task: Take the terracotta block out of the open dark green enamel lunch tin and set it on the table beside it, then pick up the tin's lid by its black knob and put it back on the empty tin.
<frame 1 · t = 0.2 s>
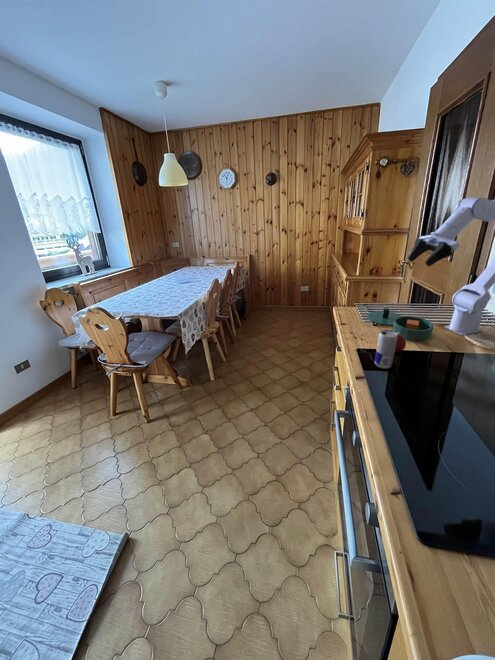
hand: (417, 262, 94), 31 cm above the counter, tool tilted 45°, fingers open, 7 cm apart
onion: (394, 352, 102), on the counter
tin: (410, 334, 113), on the counter
energy drink: (382, 365, 96), on the counter
tin lid: (385, 318, 125), point 1 cm above the counter
block: (411, 330, 114), resting on tin
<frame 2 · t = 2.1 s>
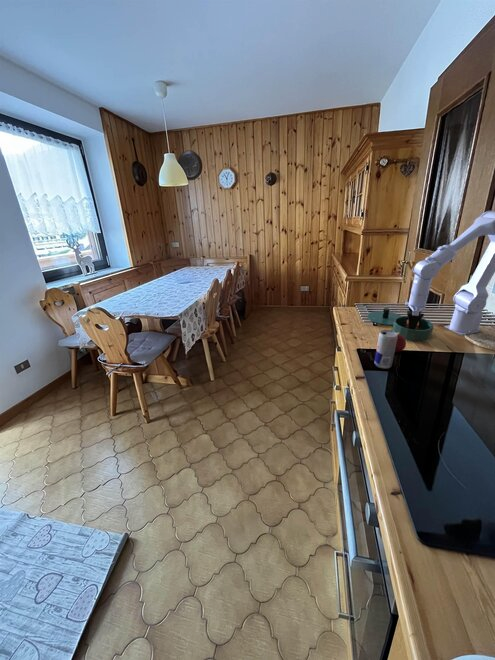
hand: (411, 325, 113), 3 cm above the counter, tool pointing down, fingers open, 5 cm apart
nothing on the counter moved.
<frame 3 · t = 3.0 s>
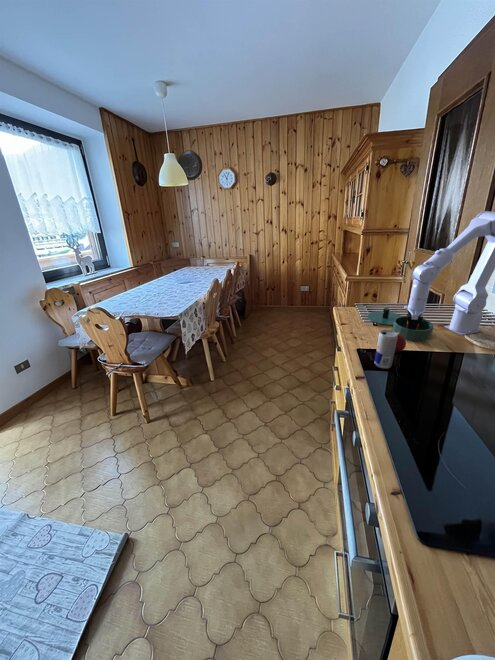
hand: (411, 328, 114), 1 cm above the counter, tool pointing down, fingers closed on block, 4 cm apart
block: (411, 331, 114), point 1 cm above the counter, touching gripper, tin
everything else where it was.
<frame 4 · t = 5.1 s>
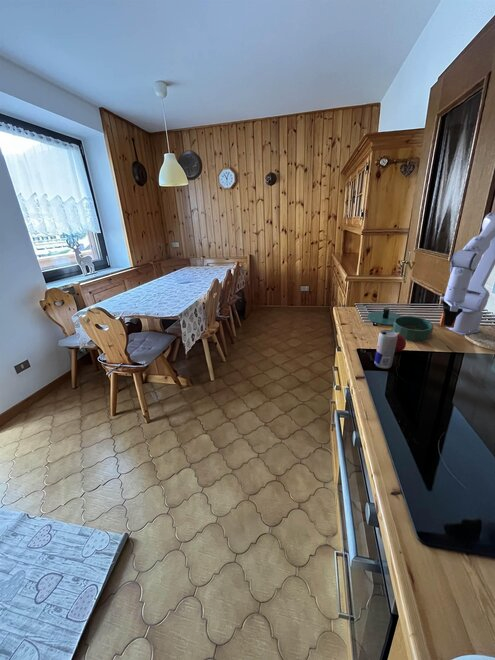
hand: (447, 322, 102), 8 cm above the counter, tool pointing down, fingers closed on block, 4 cm apart
block: (446, 324, 102), point 7 cm above the counter, touching gripper
everything else where it was.
when the fingers open (1 cm above the counter, at t = 7.5 s): block stays where it is, on the counter.
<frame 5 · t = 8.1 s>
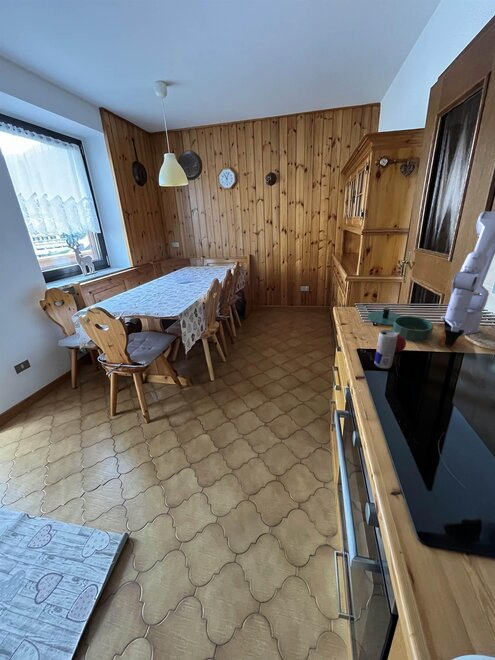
hand: (447, 340, 104), 2 cm above the counter, tool pointing down, fingers open, 7 cm apart
block: (446, 344, 104), on the counter
everything else where it was.
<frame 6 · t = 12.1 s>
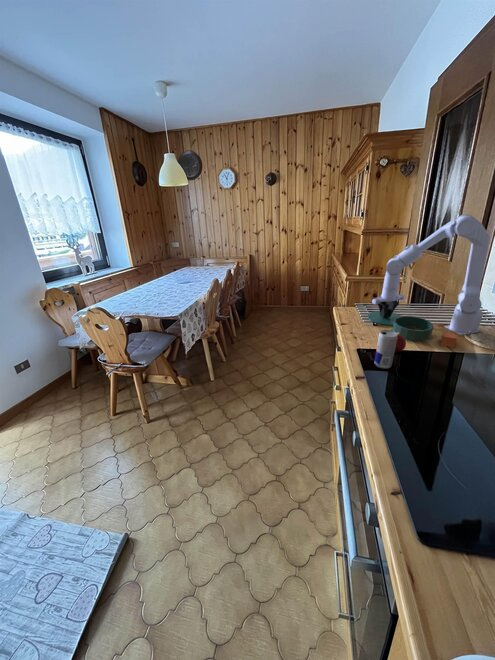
hand: (385, 316, 125), 1 cm above the counter, tool pointing down, fingers closed on tin lid, 2 cm apart
tin lid: (385, 318, 125), point 1 cm above the counter, touching gripper
everything else where it was.
when the fingers open (6 cm above the counter, at t = 15.7 s): tin lid stays where it is, resting on tin.
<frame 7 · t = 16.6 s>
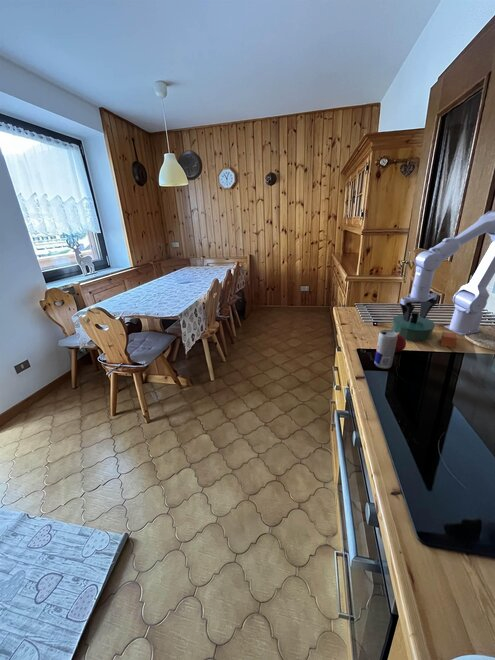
hand: (414, 318, 110), 7 cm above the counter, tool pointing down, fingers open, 7 cm apart
tin lid: (413, 323, 110), point 5 cm above the counter, touching tin
everything else where it was.
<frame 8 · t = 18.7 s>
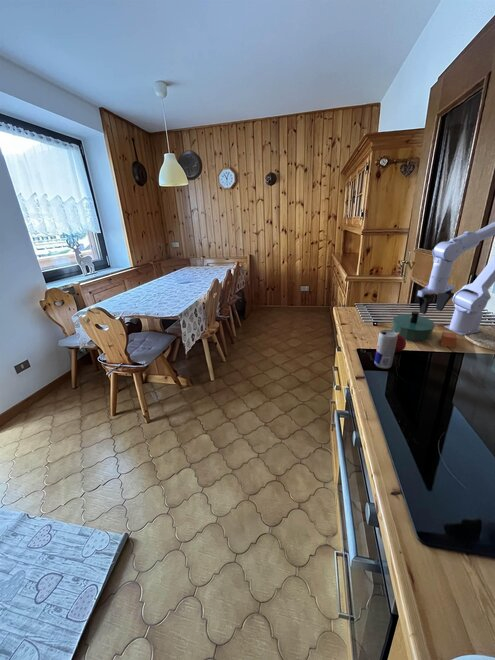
hand: (430, 311, 107), 10 cm above the counter, tool pointing down, fingers open, 7 cm apart
nothing on the counter moved.
at the end: block inside the target area (0.1 cm from its centre), on the counter; tin lid 0.0 cm off-centre on the tin, point 5.0 cm above the tin's base; tin lid tilted 0° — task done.
